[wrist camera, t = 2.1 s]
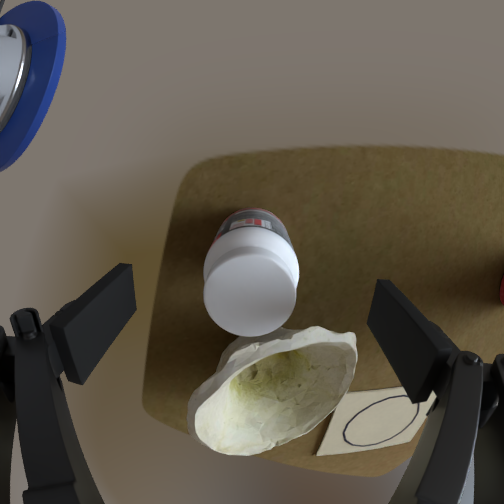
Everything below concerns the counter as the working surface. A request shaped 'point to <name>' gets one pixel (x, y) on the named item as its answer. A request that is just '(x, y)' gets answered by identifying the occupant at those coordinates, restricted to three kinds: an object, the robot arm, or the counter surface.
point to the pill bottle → (250, 274)
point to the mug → (502, 291)
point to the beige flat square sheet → (373, 421)
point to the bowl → (272, 389)
